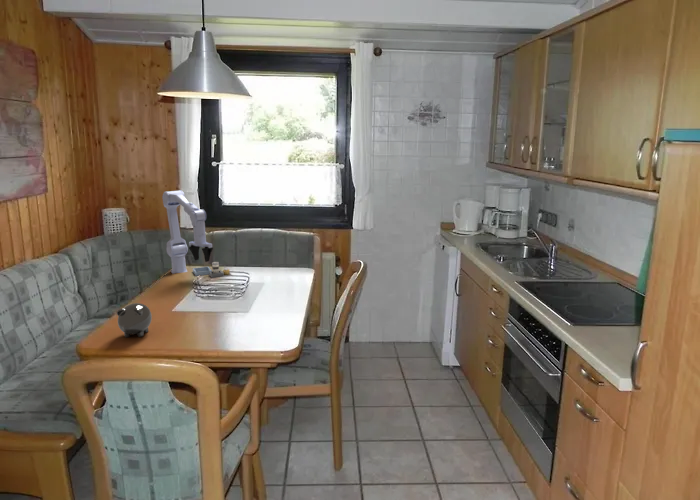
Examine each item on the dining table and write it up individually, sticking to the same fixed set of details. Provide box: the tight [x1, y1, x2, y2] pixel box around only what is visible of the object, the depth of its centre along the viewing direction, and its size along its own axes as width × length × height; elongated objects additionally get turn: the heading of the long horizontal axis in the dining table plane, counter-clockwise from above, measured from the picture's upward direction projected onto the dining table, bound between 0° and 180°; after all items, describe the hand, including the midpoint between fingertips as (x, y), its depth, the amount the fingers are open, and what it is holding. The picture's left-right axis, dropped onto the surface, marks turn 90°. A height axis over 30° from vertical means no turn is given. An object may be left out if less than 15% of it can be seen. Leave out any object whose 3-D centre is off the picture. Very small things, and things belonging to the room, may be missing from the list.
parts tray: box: [192, 266, 213, 277], centre depth 283 cm, size 10×8×2 cm
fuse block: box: [209, 268, 233, 279], centre depth 277 cm, size 8×10×3 cm
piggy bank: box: [116, 302, 153, 338], centre depth 195 cm, size 11×15×12 cm
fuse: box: [211, 261, 220, 274], centre depth 276 cm, size 3×3×7 cm
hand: (202, 260), depth 269 cm, fingers open, 7 cm apart
